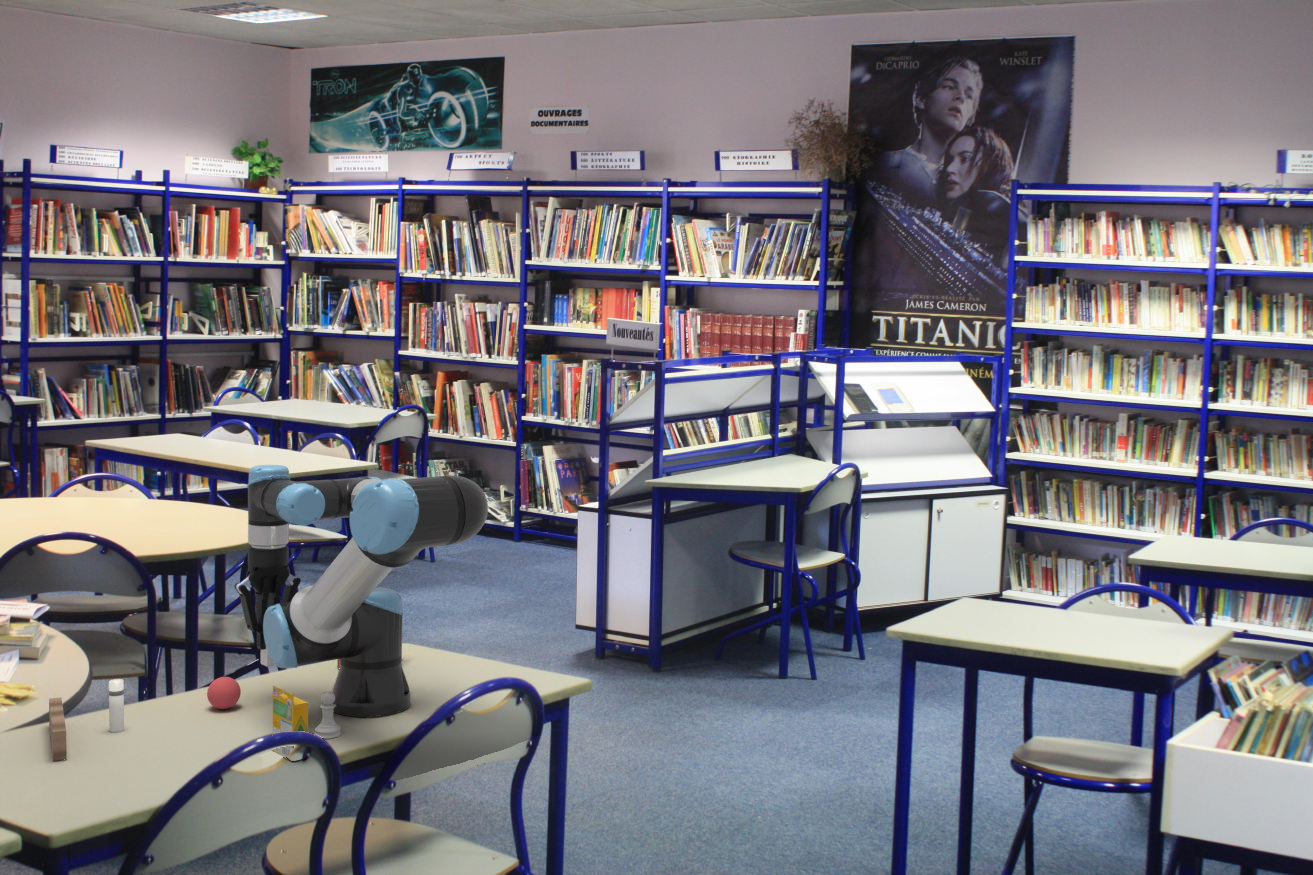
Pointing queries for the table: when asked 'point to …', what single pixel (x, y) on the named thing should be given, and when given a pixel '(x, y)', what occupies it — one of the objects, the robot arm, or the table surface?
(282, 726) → the crayon box
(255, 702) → the table surface
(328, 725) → the chess piece
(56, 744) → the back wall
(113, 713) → the pin
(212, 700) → the ball
